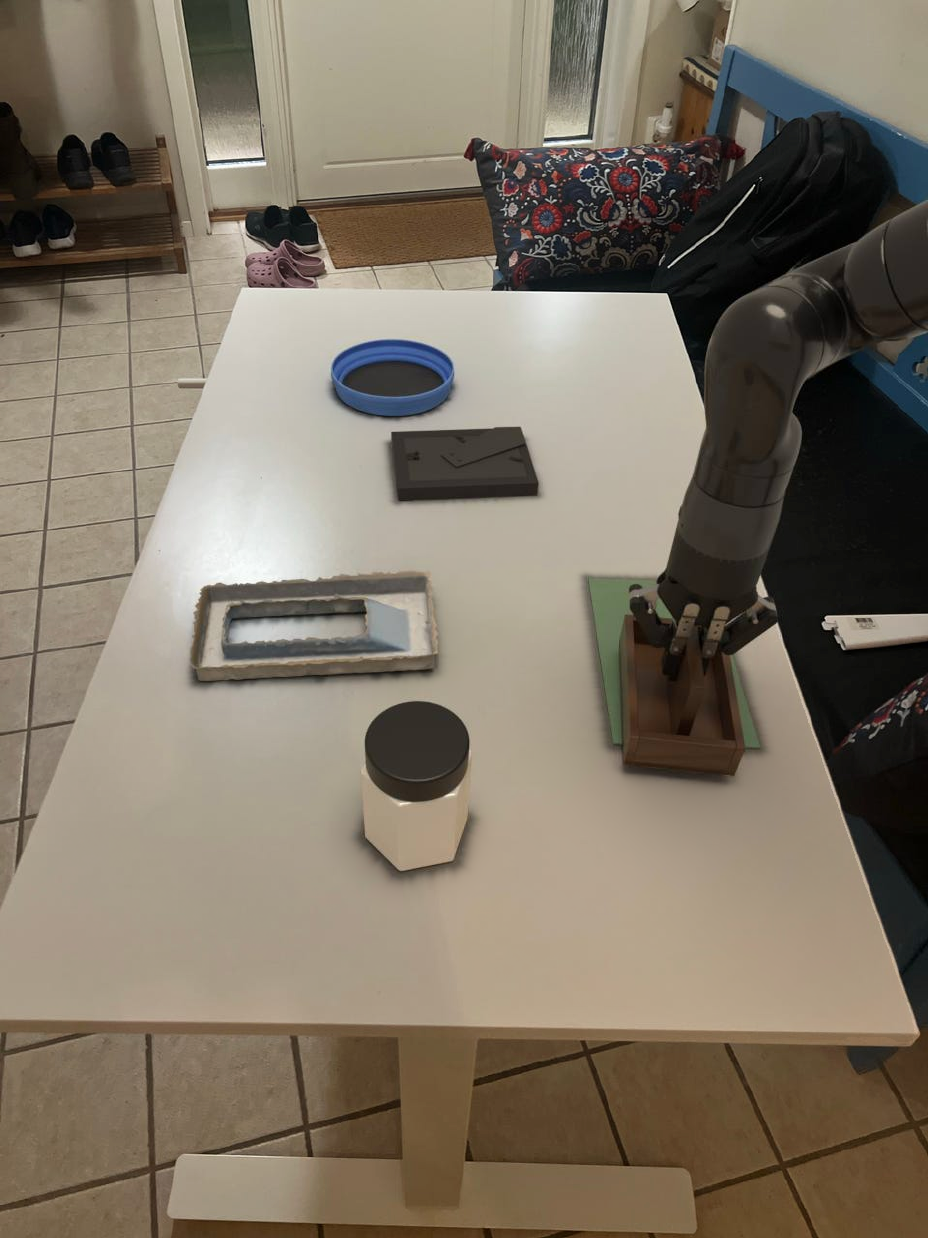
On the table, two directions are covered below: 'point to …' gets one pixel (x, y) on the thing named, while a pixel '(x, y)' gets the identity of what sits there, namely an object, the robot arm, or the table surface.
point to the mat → (608, 619)
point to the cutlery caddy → (677, 707)
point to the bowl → (392, 377)
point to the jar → (416, 783)
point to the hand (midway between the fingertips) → (681, 675)
